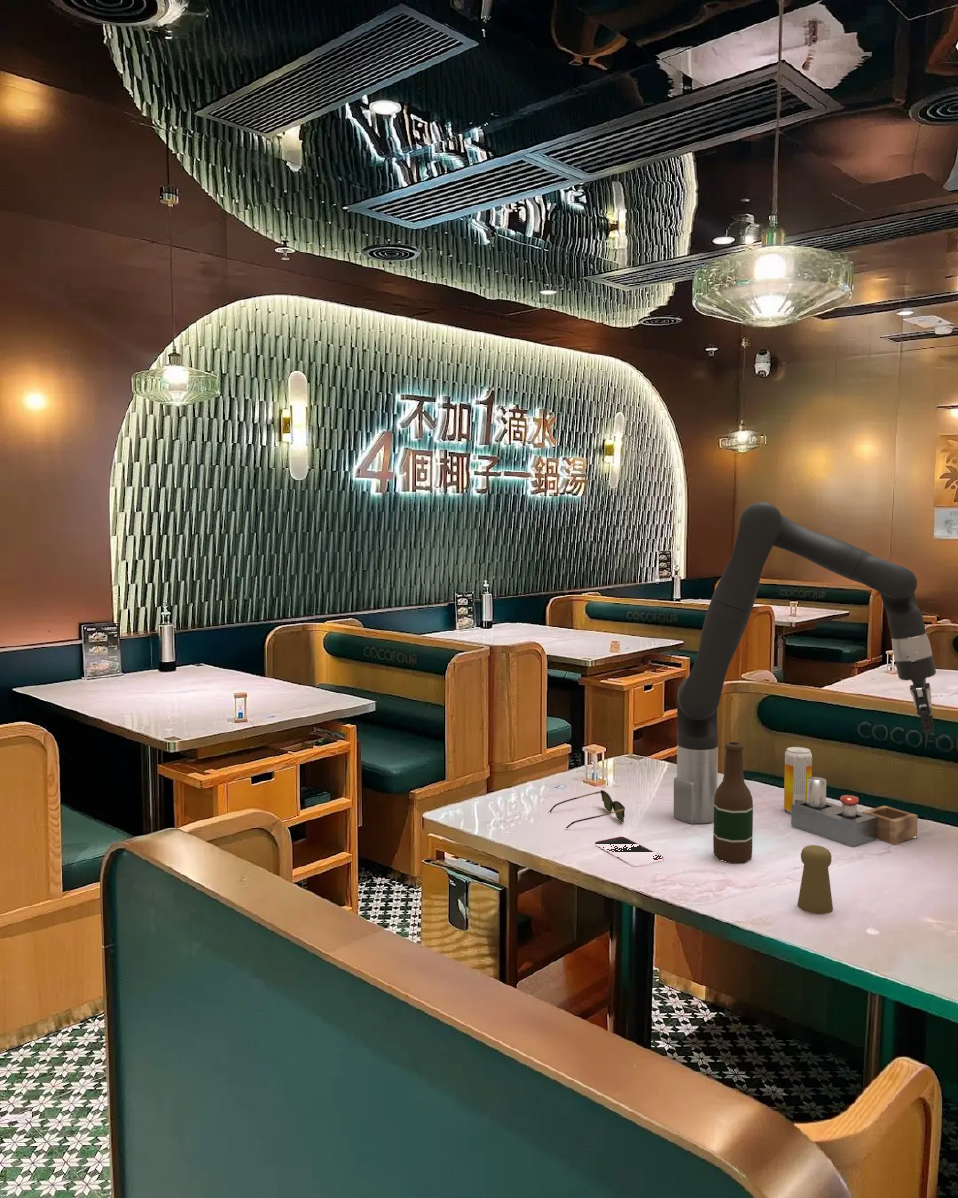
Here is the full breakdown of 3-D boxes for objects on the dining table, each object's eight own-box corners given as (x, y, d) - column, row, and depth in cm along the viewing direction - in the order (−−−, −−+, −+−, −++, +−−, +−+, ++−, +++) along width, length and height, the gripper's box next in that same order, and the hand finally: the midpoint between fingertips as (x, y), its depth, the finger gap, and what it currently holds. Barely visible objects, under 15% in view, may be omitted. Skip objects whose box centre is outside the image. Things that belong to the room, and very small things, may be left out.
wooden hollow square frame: (894, 844, 195) (895, 821, 194) (861, 834, 202) (862, 811, 201) (916, 837, 199) (917, 815, 199) (883, 827, 206) (884, 805, 205)
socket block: (852, 847, 194) (853, 824, 193) (791, 826, 207) (791, 804, 207) (876, 839, 198) (876, 817, 198) (814, 819, 212) (814, 798, 211)
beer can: (807, 807, 220) (808, 746, 219) (813, 816, 214) (815, 753, 213) (781, 807, 221) (782, 746, 219) (787, 815, 215) (788, 752, 213)
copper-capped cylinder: (850, 828, 197) (851, 801, 196) (836, 823, 200) (837, 797, 199) (861, 825, 198) (862, 798, 198) (846, 820, 202) (847, 794, 201)
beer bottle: (753, 852, 191) (754, 740, 189) (751, 866, 184) (753, 749, 182) (714, 848, 194) (716, 737, 192) (711, 861, 186) (712, 746, 184)
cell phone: (622, 840, 201) (622, 836, 201) (665, 862, 188) (665, 857, 188) (593, 846, 197) (593, 842, 197) (634, 869, 184) (634, 864, 184)
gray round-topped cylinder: (817, 831, 204) (818, 783, 203) (802, 826, 207) (803, 778, 206) (829, 827, 206) (830, 780, 205) (814, 823, 209) (815, 776, 208)
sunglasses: (626, 827, 209) (625, 806, 208) (565, 839, 205) (563, 817, 205) (603, 808, 223) (601, 788, 222) (545, 818, 219) (543, 798, 219)
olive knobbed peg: (791, 900, 167) (792, 842, 166) (823, 899, 168) (824, 840, 167) (806, 914, 161) (807, 854, 160) (839, 913, 162) (840, 853, 161)
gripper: (895, 652, 207) (910, 722, 208) (893, 664, 194) (909, 738, 195) (931, 647, 204) (946, 717, 204) (932, 658, 191) (948, 734, 192)
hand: (928, 727), depth 200 cm, fingers open, 8 cm apart
